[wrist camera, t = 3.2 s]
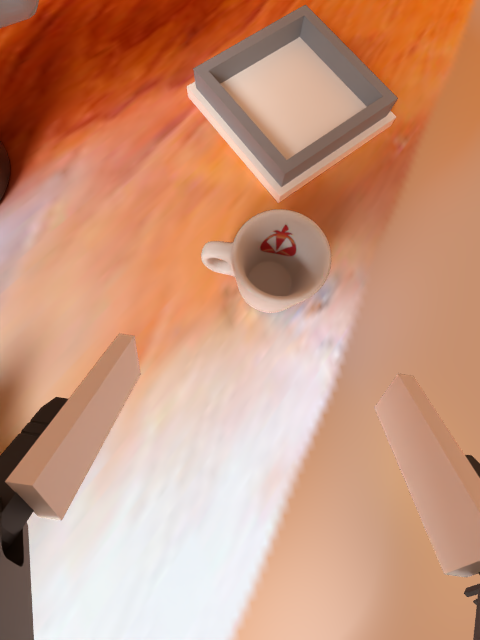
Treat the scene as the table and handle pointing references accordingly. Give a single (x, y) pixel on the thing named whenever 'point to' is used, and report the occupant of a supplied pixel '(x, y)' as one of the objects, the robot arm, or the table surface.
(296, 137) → the gray rimmed square tray
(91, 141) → the table surface
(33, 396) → the table surface
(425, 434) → the robot arm
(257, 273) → the cup
